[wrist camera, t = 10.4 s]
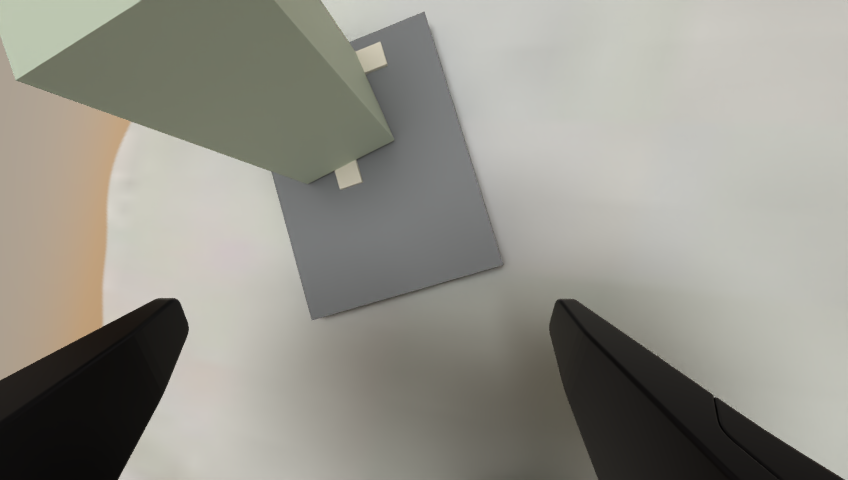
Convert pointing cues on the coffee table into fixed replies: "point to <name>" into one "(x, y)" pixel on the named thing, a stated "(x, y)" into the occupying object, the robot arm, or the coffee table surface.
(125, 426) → the robot arm
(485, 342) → the coffee table surface
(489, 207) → the coffee table surface
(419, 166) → the board
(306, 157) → the sage block
